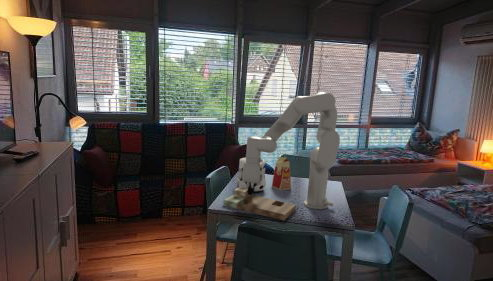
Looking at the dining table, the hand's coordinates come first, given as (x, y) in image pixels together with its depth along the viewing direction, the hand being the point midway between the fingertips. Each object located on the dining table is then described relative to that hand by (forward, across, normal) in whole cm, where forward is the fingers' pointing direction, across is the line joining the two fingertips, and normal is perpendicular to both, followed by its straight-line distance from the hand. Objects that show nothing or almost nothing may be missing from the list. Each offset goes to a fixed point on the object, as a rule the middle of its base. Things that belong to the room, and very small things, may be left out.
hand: (250, 194), depth 176 cm
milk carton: (+5, -3, -36) cm, 36 cm away
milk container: (+5, +10, -20) cm, 23 cm away
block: (+2, +5, +1) cm, 5 cm away
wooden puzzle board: (+5, -7, +4) cm, 10 cm away
